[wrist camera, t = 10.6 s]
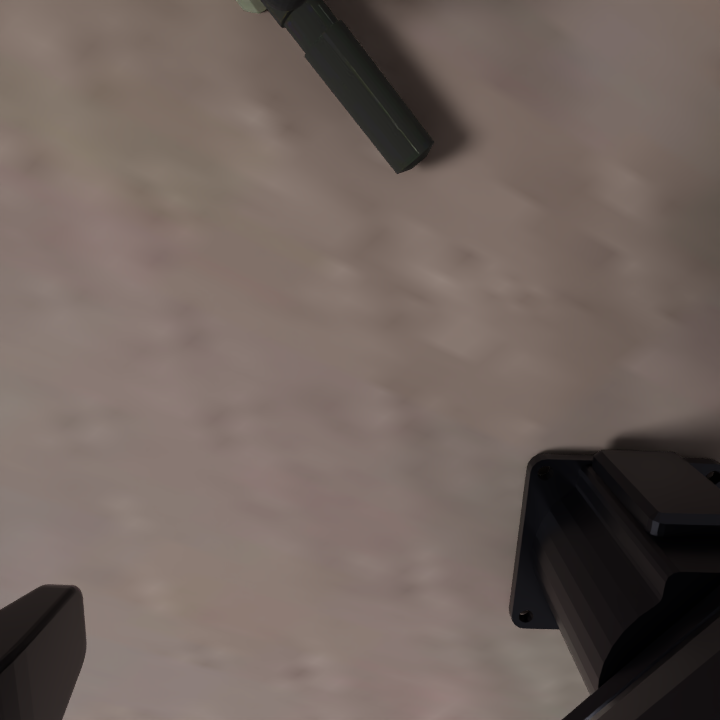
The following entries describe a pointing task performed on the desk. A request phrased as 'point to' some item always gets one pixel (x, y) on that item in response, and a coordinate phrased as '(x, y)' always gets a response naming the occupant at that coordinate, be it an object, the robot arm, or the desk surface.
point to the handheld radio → (351, 78)
